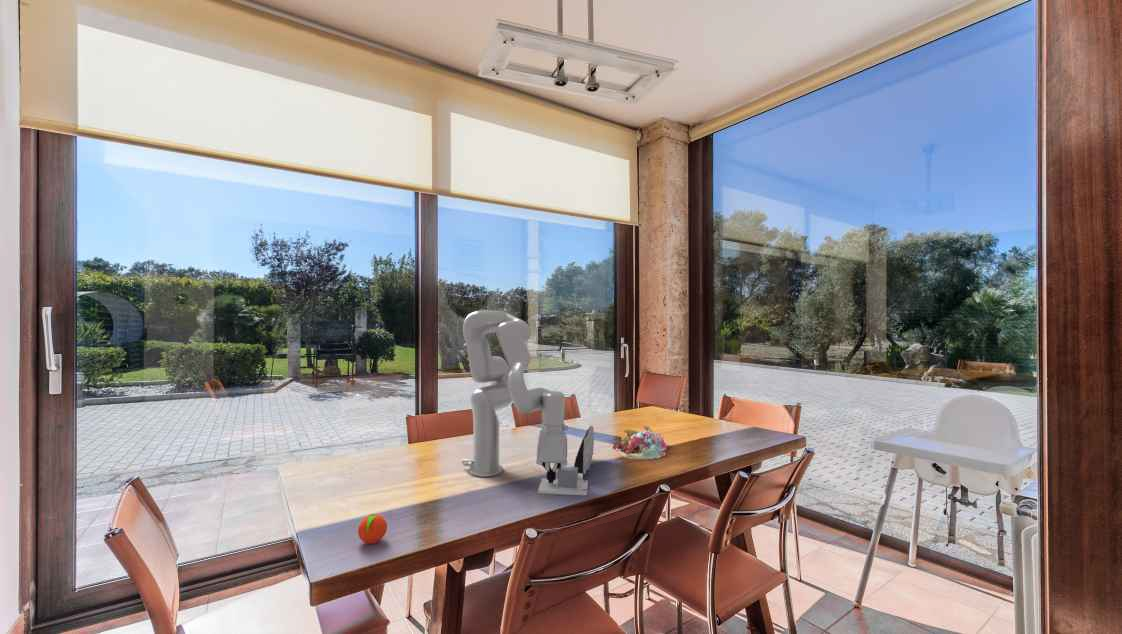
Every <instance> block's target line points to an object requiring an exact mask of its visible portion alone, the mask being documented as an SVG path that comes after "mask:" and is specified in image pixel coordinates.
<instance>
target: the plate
mask: <svg viewBox="0 0 1122 634" xmlns="http://www.w3.org/2000/svg"><path fill="white" fill-rule="evenodd" d="M583 478H584V474H581V473H578V479H577V488H561V487H558V478H556V480H554V482H553V484H552V483H548V480H547V477H545V478H541V482H540V484H539V486H538V489H537V494H542V495H543V494H544V495H545V494H546V495H547V494H548V495H566V496H568V495H569V496H572V495H573V496H587V495H588V484H589V482H588V481H589V480H588V479H583Z"/></svg>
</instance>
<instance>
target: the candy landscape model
mask: <svg viewBox="0 0 1122 634" xmlns="http://www.w3.org/2000/svg"><path fill="white" fill-rule="evenodd" d="M623 432H624V434H625V437H624V436H623V437H621V438H620V440H619V441H616V442H615V443H613V446H612V448H613V449H614V450H615V451H617V452H618V454H619V455H620V456H622V457H623V458H626V459H632V460H655V459H654V458H659V459H661V458H660V457H662V456H665V455H666V456H667V453H666V451H667V450H668V447H667V446H666V442H665V439H664V434H662V436H661V432H658V431H657V433H655V432H653V431H652V428H650V427H649V426H648V425H644V426H643V428H642V430H641V431H637V430H635V429H629V428H626V430H624V431H623ZM655 434H656V435H655ZM663 451H664V452H663ZM666 456H665V457H666ZM662 458H663V457H662Z"/></svg>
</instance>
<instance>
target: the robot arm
mask: <svg viewBox="0 0 1122 634" xmlns="http://www.w3.org/2000/svg"><path fill="white" fill-rule="evenodd" d="M488 333H489V334H490V333H491V334H496V337H497V340H498V343H499V345H500V347H501V350H502V353H503V355H504V358H505V359H504V358H503V357H501V356H499V355H497V356H496V355H495V356H493V355H492V351H491V345H490V343H489V341H488V339H487V338H486V336H485V334H488ZM462 334H463V338H464V342H465V345H466V350H467V357H468V363H469V370H470V375H471V379H472V381H474V382H475V383H476V384H485V383H490V385H487V386H481V387H479V388H476V389H475V390H474V392H473V393H472V394H471V398H470V404H471V410H472V417H473V419H472V420H473V421H472V423H473V425H472V426H473V442H472V445H473V453H472V454H473V457H472V458H471V459H468V458H463V459H462V461H461V462H462V463H461V464H462V465H463V467H469V468H468V473H469V474H470V475H471V476H474V477H478V478H479V477H481V478H487V477H494V476H499V475H500V474H502V473H503V471H504V466H502V464H500V421H499V417H498V415H497V413H496V411H498V410H502V409H505V408H508V407H509V406H511V403H513V405H514V408H515V409H516V410H517V411H518V412H520V413H521V414H530V413H532V412H536V411H541V412H542V413H541V430H540V431H539V434H538V438H537V439H538V440H537V445H536V446H537V448H536V461H535V463H536V465H539V466H542V467H543V468H544V469H545V471H546V478H547V480H548V483H552V484H553V482H554V480H556V479H557V478H556V477H557V471H558V469H559V468H560V467H568V459H567V458H568V437H567V432H566V431H567V430H569V425H566V424H565V405H566V403H565V401H566V398H565V397H566V396H565V394H564V393H563V392H562V391H557V390H549V389H547V388H543V387H536V388H530V389H528V388H527V385H526V382H525V378H524V377H525V375H524V373H525V369H526V367H527V366H528V364H529V363H530V362H531V360H532V356H531V353H530V352H529V349H528V347H527V344H526V343H527V342H528V341H529V340H530V338H531V336H532V330H531V327H530V325H529V324H528V323H527V322H526V321H525V320H522V319H521V318H518V317H516V316H514V315H512V314H510V313H508V312H506V311H502V310H490V309H489V310H488V309H485V310H484V309H482V310H481V309H480V310H475V311H473V312H471V313H469V314H468V315H467V316H466V318H465V319H464V321H463V324H462ZM551 463H552V464H553V467H552V466H551Z"/></svg>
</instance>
